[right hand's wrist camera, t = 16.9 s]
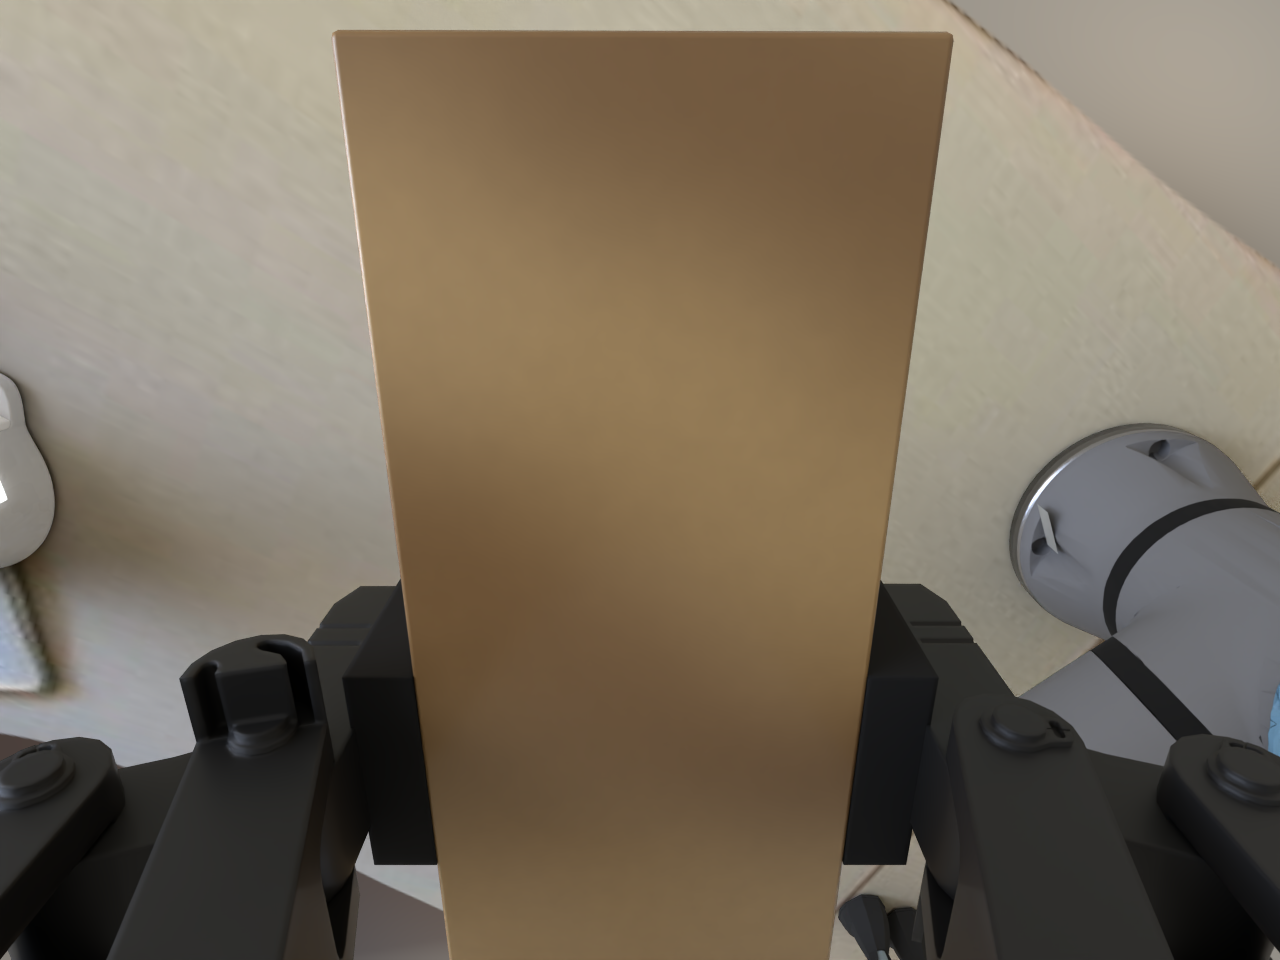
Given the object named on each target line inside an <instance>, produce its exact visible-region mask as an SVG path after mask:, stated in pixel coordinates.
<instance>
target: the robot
mask: <svg viewBox="0 0 1280 960" xmlns="http://www.w3.org/2000/svg"><path fill="white" fill-rule="evenodd" d="M915 917H916V910H914V909H913V908H904V909H897V910H894V911H893V912H892V913H891V914H890V915H889V916H887V914H886V911H885V906H884V905H883V903H882V902H881V900H880V899H879V898H878V896H870V895H860V896H858V897H856V898H854V899H852V900H850V901H848V902H846V903H845V904H844V905H843V906H842V907H841V908H840V911H839V916H838V918H839V920H840V921H841V923H842V924H843V926H844V927H845V929H846V930H847V931H848V933H849V934H850V935H852V936H853V937H855V939H856V941H857V943H858V945H859V946H860V948H861V950H862V951H863V953H864V954H865V956H866V958H867V959H868V960H891V958H890V956H889V947H891V948H893V949H894V951H895V952H896V954H897V956H898V958H899V959H900V960H927V956H926V946H925V936H924V932H923V938H922V943H920V942H915V941H912V934H913V928H914V922H915Z"/></svg>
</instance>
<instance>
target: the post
mask: <svg viewBox="0 0 1280 960" xmlns="http://www.w3.org/2000/svg"><path fill="white" fill-rule="evenodd" d="M332 46H333V53H334V61H335V69H336V77H337V85H338V92H339V100H340V108H341V116H342V124H343V131H344V139H345V147H346V155H347V163H348V170H349V178H350V186H351V194H352V202H353V209H354V217H355V225H356V233H357V241H358V248H359V256H360V264H361V272H362V280H363V287H364V295H365V303H366V311H367V318H368V326H369V334H370V342H371V350H372V357H373V365H374V373H375V381H376V389H377V396H378V404H379V412H380V420H381V428H382V435H383V443H384V451H385V459H386V467H387V474H388V482H389V490H390V498H391V506H392V513H393V521H394V529H395V537H396V545H397V552H398V560H399V568H400V576H401V583H402V591H403V599H404V607H405V615H406V622H407V630H408V638H409V646H410V654H411V661H412V669H413V676H414V684H415V692H416V700H417V707H418V715H419V723H420V731H421V738H422V746H423V754H424V762H425V769H426V777H427V785H428V793H429V801H430V808H431V816H432V824H433V832H434V839H435V847H436V855H437V864H438V872H439V880H440V887H441V895H442V903H443V911H444V918H445V926H446V934H447V942H448V950H449V958H450V960H829V956H830V949H831V941H832V934H833V926H834V919H835V912H836V904H837V897H838V889H839V882H840V875H841V867H842V860H843V852H844V845H845V838H846V830H847V823H848V815H849V808H850V800H851V793H852V786H853V778H854V771H855V763H856V756H857V749H858V741H859V734H860V726H861V719H862V712H863V704H864V697H865V689H866V682H867V675H868V668H869V660H870V653H871V646H872V638H873V631H874V623H875V616H876V609H877V601H878V594H879V587H880V579H881V572H882V564H883V557H884V550H885V542H886V535H887V527H888V520H889V513H890V505H891V498H892V491H893V483H894V476H895V468H896V461H897V454H898V446H899V439H900V431H901V424H902V417H903V409H904V402H905V395H906V387H907V380H908V372H909V365H910V358H911V350H912V343H913V335H914V328H915V321H916V313H917V306H918V298H919V291H920V284H921V276H922V269H923V262H924V254H925V247H926V239H927V232H928V225H929V217H930V210H931V202H932V195H933V188H934V180H935V173H936V166H937V158H938V151H939V143H940V136H941V129H942V121H943V114H944V106H945V99H946V92H947V84H948V77H949V70H950V62H951V55H952V47H953V35H952V34H950V33H948V32H834V31H501V30H337V31H335V32H333V34H332Z"/></svg>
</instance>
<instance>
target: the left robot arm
mask: <svg viewBox="0 0 1280 960" xmlns="http://www.w3.org/2000/svg"><path fill="white" fill-rule="evenodd" d="M54 510H55V497H54V489H53V484H52V480H51V476H50V474H49V471H48V468H47V466H46V463H45V461H44V459H43V457H42V455H41V453H40V452H39V450H38V448H37V446H36V445H35V443H34V441H33V440H32V438H31V436H30V434H29V432H28V430H27V427H26V424H25V416H24V410H23V404H22V399H21V396H20V393H19V390H18V388H17V386H16V385H15V384H14V382H13V381H12V380H11V379H9V378H8V377H7V376H5V375H3V374H1V373H0V568H4V567H7V566H11V565H13V564H16V563H18V562H20V561H22V560H24V559H25V558H27V557H28V556H30V555H31V554H32V553H33V552H35V551H36V550H37V549H38V548H39V547H40V545H41V544H42V543H43V541H44V540H45V538H46V537H47V535H48V533H49V531H50V528H51V525H52V522H53V518H54Z"/></svg>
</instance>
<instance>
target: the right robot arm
mask: <svg viewBox="0 0 1280 960" xmlns="http://www.w3.org/2000/svg"><path fill="white" fill-rule="evenodd" d="M1009 543H1010V556H1011V561H1012V565H1013V568H1014V571H1015V573H1016V576H1017V577H1018V579H1019V581H1020V583H1021V584H1022V586H1023V587H1024V588H1025V590H1026V591H1027V592H1028V593H1029V594H1030V595H1031V596H1032V597H1033V598H1034V599H1035V600H1036V602H1037V603H1038V604H1039V605H1040V606H1041V607H1042V608H1044V609H1045V610H1046V611H1047V612H1048V613H1050V614H1051V615H1053V616H1055V617H1056V618H1058V619H1059V620H1061V621H1063V622H1065V623H1067V624H1069V625H1071V626H1073V627H1076V628H1078V629H1080V630H1083V631H1085V632H1087V633H1090V634H1092V635H1095V636H1097V637H1099V638H1102V639H1104V640H1106V641H1104V642H1103V643H1101V644H1100V645H1098V646H1097V647H1095V648H1094V649H1092V650H1090V651H1088V652H1087V653H1085V654H1084V655H1082V656H1080V657H1079V658H1077V659H1076V660H1074V661H1073V662H1071V663H1070V664H1068V665H1067V666H1065V667H1064V668H1062V669H1061V670H1059V671H1058V672H1056V673H1054V674H1053V675H1051V676H1050V677H1048V678H1047V679H1045V680H1044V681H1042V682H1041V683H1039V684H1038V685H1036V686H1035V687H1033V688H1032V689H1030V690H1028V691H1027V692H1025V693H1024V694H1022V695H1021V696H1019V697H1015V696H1014V694H1013V693H1012V692H1011V690H1010V689H1009V687H1008V686H1007V685H1006V683H1005V682H1004V681H1003V679H1002V678H1001V676H1000V675H999V674H998V672H997V671H996V669H995V668H994V667H993V665H992V664H991V663H990V661H989V660H988V658H987V657H986V656H985V654H984V653H983V651H982V650H981V649H980V647H979V646H978V644H977V643H974V642H973V638H972V636H971V635H970V633H969V632H968V631H967V629H966V628H965V626H961V621H960V619H959V618H958V617H957V615H956V614H955V613H954V611H953V610H952V608H951V607H950V606H949V604H948V603H947V601H945V600H944V599H942V598H941V597H939V596H938V595H936V594H935V593H933V592H932V591H930V590H929V589H927V588H926V587H924V586H923V585H921V584H883V583H882V581H881V580H880V587H879V594H878V601H877V609H876V616H875V623H874V631H873V638H872V646H871V653H870V660H869V668H868V675H867V682H866V689H865V697H864V704H863V712H862V719H861V726H860V734H859V741H858V749H857V756H856V763H855V771H854V778H853V786H852V793H851V800H850V808H849V815H848V823H847V830H846V838H845V845H844V852H843V860H842V861H843V864H844V865H906V863H907V857H908V851H909V845H910V840H911V834H912V829H913V831H914V833H915V836H916V838H917V841H918V843H919V845H920V848H921V850H922V853H923V855H924V857H925V860H926V863H925V869H924V874H923V879H922V885H921V890H920V895H919V901H918V906H917V911H916V917H915V922H914V928H913V934H912V941H915V942H920V943H922V938H923V932H924V936H925V946H926V956H927V960H1280V513H1279V512H1277V511H1275V510H1273V509H1271V508H1269V507H1268V506H1267V504H1266V503H1265V502H1264V501H1263V499H1262V498H1261V497H1260V495H1259V494H1258V493H1257V492H1256V490H1255V489H1254V488H1253V486H1252V485H1251V484H1250V483H1249V481H1248V480H1247V479H1246V478H1245V476H1244V475H1243V474H1242V472H1241V471H1240V470H1239V469H1238V467H1237V466H1236V465H1235V464H1234V462H1233V461H1232V460H1231V459H1230V458H1229V457H1227V456H1226V455H1225V454H1224V453H1223V452H1222V451H1221V450H1219V449H1218V448H1217V447H1215V446H1214V445H1212V444H1211V443H1209V442H1207V441H1206V440H1203V439H1201V438H1199V437H1197V436H1195V435H1193V434H1191V433H1188V432H1186V431H1184V430H1181V429H1178V428H1175V427H1172V426H1167V425H1162V424H1151V423H1143V424H1129V425H1123V426H1118V427H1114V428H1110V429H1107V430H1103V431H1101V432H1098V433H1095V434H1093V435H1091V436H1088V437H1086V438H1084V439H1082V440H1080V441H1079V442H1077V443H1075V444H1073V445H1072V446H1070V447H1069V448H1067V449H1066V450H1064V451H1063V452H1061V453H1060V454H1059V455H1058V456H1056V457H1055V458H1054V459H1053V460H1051V461H1050V462H1049V463H1048V464H1047V465H1046V466H1045V467H1044V468H1043V469H1042V470H1041V471H1040V472H1039V474H1038V475H1037V476H1036V477H1035V478H1034V480H1033V481H1032V482H1031V484H1030V485H1029V486H1028V488H1027V490H1026V491H1025V493H1024V494H1023V496H1022V498H1021V500H1020V502H1019V504H1018V507H1017V509H1016V511H1015V514H1014V518H1013V521H1012V525H1011V530H1010V540H1009ZM179 679H180V683H181V687H182V690H183V694H184V698H185V702H186V705H187V709H188V713H189V716H190V720H191V724H192V727H193V731H194V735H195V739H196V742H197V743H196V745H195V748H194V750H193V752H191V753H187V754H184V755H180V756H176V757H172V758H168V759H163V760H158V761H154V762H149V763H144V764H140V765H135V766H130V767H126V768H121V769H117V765H116V762H115V759H114V756H113V753H112V750H111V749H110V748H109V747H108V746H107V745H105V744H104V743H103V742H102V741H100V740H96V739H90V738H83V737H75V738H67V739H59V740H52V741H49V742H45V743H41V744H39V745H34V746H31V747H28V748H26V749H23V750H21V751H19V752H17V753H15V754H13V755H11V756H9V757H7V758H5V759H3V760H1V761H0V959H1V958H2V957H3V955H4V954H5V953H6V952H7V950H8V952H9V954H10V956H11V960H353V958H354V948H355V938H356V928H357V918H358V908H359V898H360V893H359V886H358V880H357V874H356V869H355V863H356V860H357V858H358V855H359V853H360V851H361V848H362V846H363V843H364V841H365V839H366V836H367V834H368V831H369V837H370V842H371V848H372V854H373V860H374V865H437V855H436V847H435V839H434V832H433V824H432V816H431V808H430V801H429V793H428V785H427V777H426V769H425V762H424V754H423V746H422V738H421V731H420V723H419V715H418V707H417V700H416V692H415V684H414V676H413V669H412V661H411V654H410V646H409V638H408V630H407V622H406V615H405V607H404V599H403V591H402V583H401V579H400V581H399V582H398V584H397V586H360V587H359V588H357V589H356V590H354V591H353V592H351V593H350V594H348V595H347V596H345V597H344V598H342V599H341V600H339V601H338V602H337V603H335V604H334V605H333V607H332V608H331V609H330V611H329V612H328V614H327V615H326V616H325V618H324V619H323V621H322V622H321V623H320V628H317V629H316V630H315V632H314V633H313V635H312V636H311V637H310V639H309V640H308V642H307V641H305V640H304V639H302V638H298V637H294V636H289V635H285V634H280V635H259V636H255V637H250V638H246V639H241V640H237V641H234V642H231V643H229V644H227V645H224V646H222V647H219V648H217V649H214V650H212V651H210V652H209V653H207V654H206V655H204V656H203V657H201V658H200V659H198V660H197V661H195V662H194V663H192V664H191V665H190V666H189V668H188V669H187V670H186V671H185V672H184V674H183V675H182V676H181V677H180V678H179Z"/></svg>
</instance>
